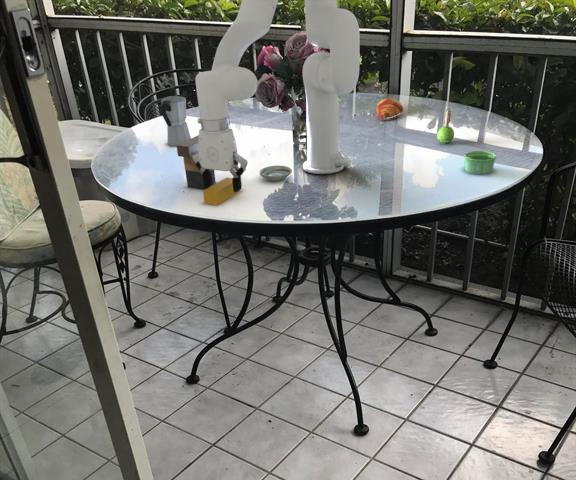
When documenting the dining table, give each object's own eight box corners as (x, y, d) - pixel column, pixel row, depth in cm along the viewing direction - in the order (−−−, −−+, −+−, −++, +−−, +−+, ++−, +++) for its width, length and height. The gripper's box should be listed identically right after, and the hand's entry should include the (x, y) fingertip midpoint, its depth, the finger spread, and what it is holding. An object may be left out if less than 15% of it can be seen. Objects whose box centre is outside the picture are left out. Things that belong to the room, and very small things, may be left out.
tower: (215, 183, 181) (211, 148, 175) (204, 189, 177) (199, 154, 171) (199, 180, 183) (194, 146, 177) (187, 187, 179) (182, 152, 173)
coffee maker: (177, 137, 223) (169, 83, 212) (198, 138, 221) (191, 84, 210) (157, 149, 212) (147, 93, 201) (179, 150, 209) (171, 94, 199)
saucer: (253, 179, 182) (252, 171, 181) (276, 171, 187) (276, 163, 186) (275, 186, 177) (275, 178, 175) (298, 177, 182) (298, 169, 180)
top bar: (216, 205, 166) (215, 192, 164) (204, 203, 168) (202, 190, 166) (239, 191, 175) (238, 179, 173) (228, 189, 176) (226, 177, 174)
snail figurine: (435, 146, 201) (439, 107, 194) (436, 140, 206) (440, 102, 199) (452, 146, 200) (457, 107, 193) (453, 141, 205) (457, 102, 197)
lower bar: (204, 143, 179) (203, 132, 178) (215, 144, 178) (214, 134, 176) (178, 156, 171) (176, 145, 169) (189, 157, 169) (188, 146, 167)
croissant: (388, 118, 245) (379, 99, 242) (411, 106, 239) (402, 86, 236) (374, 131, 229) (365, 110, 226) (398, 119, 223) (390, 97, 220)
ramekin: (481, 163, 185) (484, 148, 182) (500, 172, 178) (502, 156, 175) (456, 168, 182) (458, 153, 180) (474, 177, 175) (476, 161, 173)
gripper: (180, 125, 161) (189, 189, 171) (235, 130, 154) (242, 197, 164) (196, 118, 166) (205, 180, 176) (250, 123, 159) (256, 187, 169)
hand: (222, 188), depth 170 cm, fingers open, 9 cm apart
